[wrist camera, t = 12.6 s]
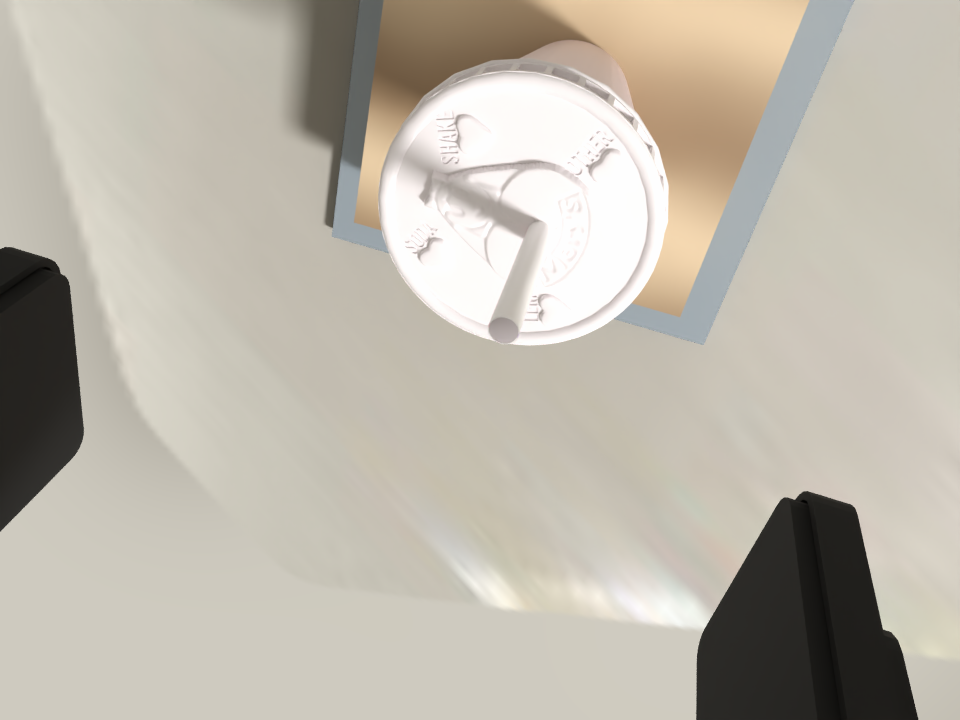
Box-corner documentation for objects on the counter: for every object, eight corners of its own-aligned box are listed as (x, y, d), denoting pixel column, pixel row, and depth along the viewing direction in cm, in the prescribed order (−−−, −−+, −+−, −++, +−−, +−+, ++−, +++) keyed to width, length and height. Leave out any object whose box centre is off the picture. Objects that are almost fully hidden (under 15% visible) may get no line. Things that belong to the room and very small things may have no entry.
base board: (401, -298, 25) (395, -300, 25) (922, -167, 24) (927, -167, 24) (336, 230, 35) (331, 236, 35) (703, 337, 34) (703, 345, 34)
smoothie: (626, 226, 28) (582, 510, 16) (446, 160, 28) (273, 395, 16) (710, 34, 24) (732, 221, 12) (502, -41, 24) (331, 74, 13)
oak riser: (441, -167, 26) (406, -167, 23) (813, -70, 26) (832, -56, 22) (387, 183, 33) (354, 222, 30) (681, 267, 32) (679, 317, 29)
